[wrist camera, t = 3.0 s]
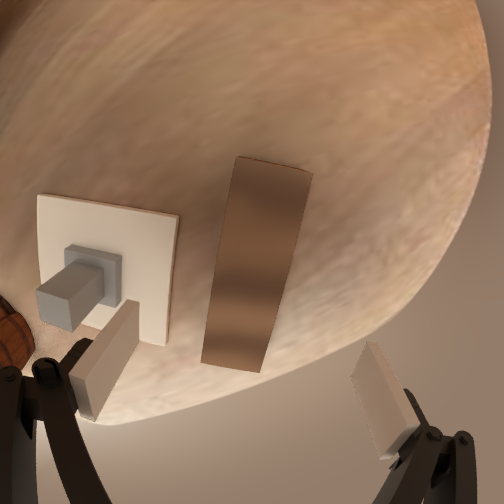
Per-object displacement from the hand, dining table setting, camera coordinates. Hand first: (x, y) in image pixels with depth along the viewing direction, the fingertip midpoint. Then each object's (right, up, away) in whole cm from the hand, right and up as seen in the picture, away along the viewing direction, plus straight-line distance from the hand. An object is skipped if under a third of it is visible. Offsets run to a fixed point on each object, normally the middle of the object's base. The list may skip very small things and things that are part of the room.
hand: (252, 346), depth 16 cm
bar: (0, +4, +12) cm, 13 cm away
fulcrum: (-16, +3, +12) cm, 20 cm away
